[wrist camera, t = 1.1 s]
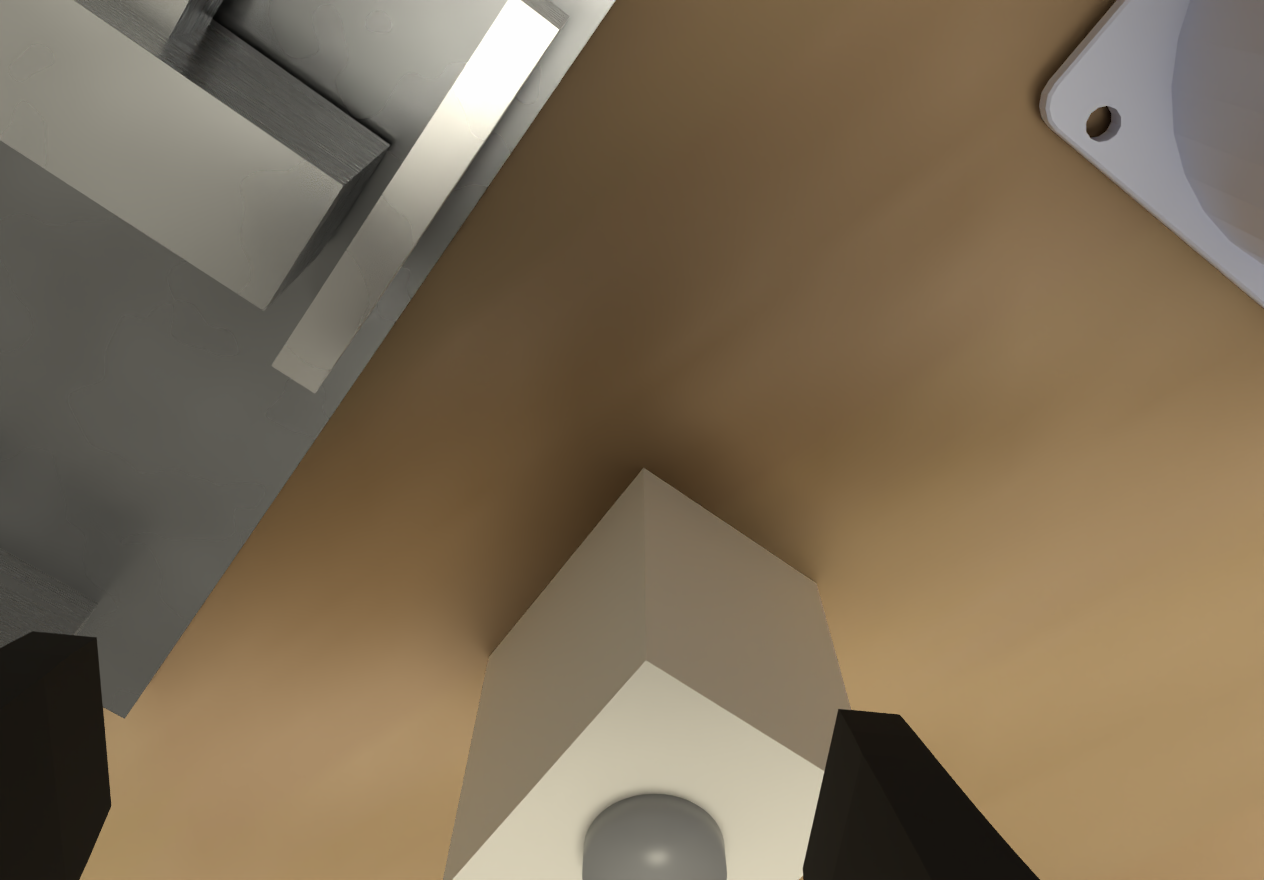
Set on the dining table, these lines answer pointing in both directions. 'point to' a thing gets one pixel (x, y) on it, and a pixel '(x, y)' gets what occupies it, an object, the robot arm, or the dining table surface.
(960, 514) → the dining table surface
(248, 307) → the press bed
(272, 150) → the ram
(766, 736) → the block
